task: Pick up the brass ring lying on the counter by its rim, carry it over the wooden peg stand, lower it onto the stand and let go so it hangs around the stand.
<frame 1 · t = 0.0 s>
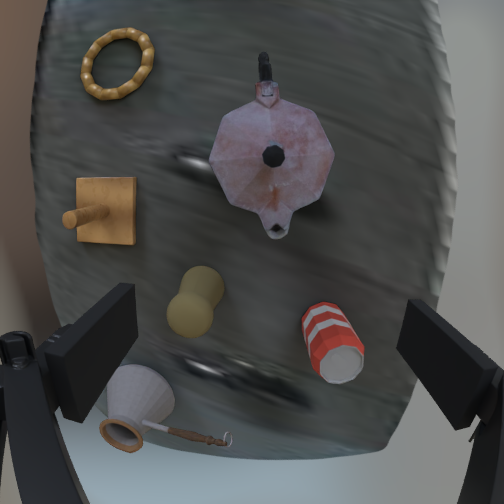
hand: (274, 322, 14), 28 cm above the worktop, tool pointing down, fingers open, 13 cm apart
wooden peg stand: (106, 209, 41), on the worktop
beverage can: (321, 319, 45), on the worktop
ring: (115, 62, 35), point 1 cm above the worktop
cork: (202, 286, 44), on the worktop
coffee pot: (172, 382, 48), on the worktop
moka pot: (263, 154, 40), on the worktop
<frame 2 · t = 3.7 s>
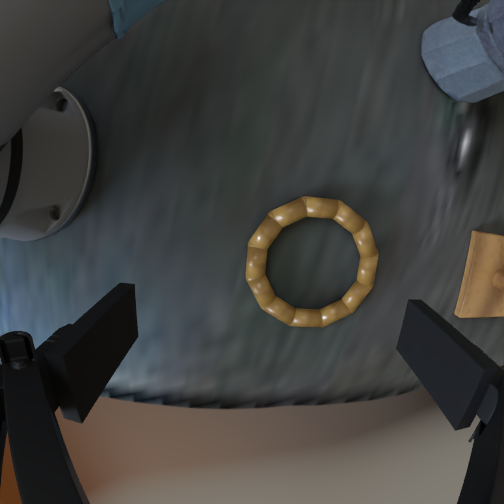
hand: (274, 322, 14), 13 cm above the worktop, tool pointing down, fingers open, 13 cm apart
wooden peg stand: (491, 274, 28), on the worktop
ring: (314, 265, 27), point 1 cm above the worktop
moka pot: (451, 64, 23), on the worktop
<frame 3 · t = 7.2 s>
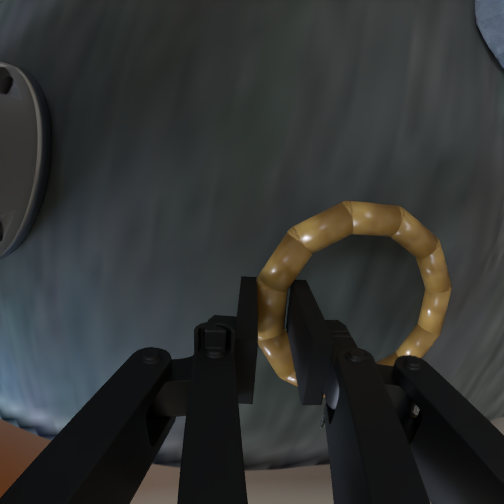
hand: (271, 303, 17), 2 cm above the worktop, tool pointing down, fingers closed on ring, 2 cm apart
ring: (360, 309, 16), point 3 cm above the worktop, touching gripper
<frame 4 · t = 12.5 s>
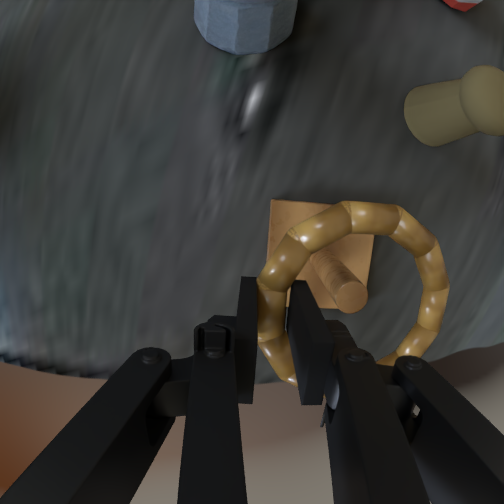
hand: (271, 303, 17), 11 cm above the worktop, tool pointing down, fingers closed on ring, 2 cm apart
wooden peg stand: (318, 254, 28), on the worktop
ring: (360, 309, 16), point 12 cm above the worktop, touching gripper
cork: (429, 115, 25), on the worktop
moka pot: (242, 18, 23), on the worktop
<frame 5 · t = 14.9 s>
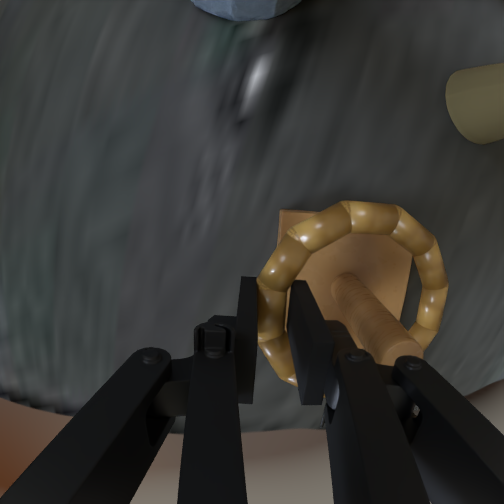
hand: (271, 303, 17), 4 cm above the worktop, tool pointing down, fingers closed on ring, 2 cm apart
wooden peg stand: (341, 281, 21), on the worktop
ring: (359, 308, 16), point 5 cm above the worktop, touching gripper
cork: (473, 106, 18), on the worktop
when the fingers open (7 cm above the worktop, at t = 17.7 s): ring drops 5 cm, resting on wooden peg stand.
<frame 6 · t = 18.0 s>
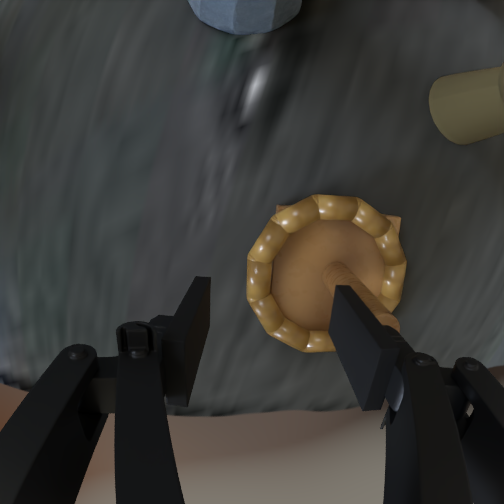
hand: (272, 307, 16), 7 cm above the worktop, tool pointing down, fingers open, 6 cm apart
wooden peg stand: (331, 270, 23), on the worktop
ring: (330, 278, 21), point 2 cm above the worktop, touching wooden peg stand
cork: (456, 109, 20), on the worktop
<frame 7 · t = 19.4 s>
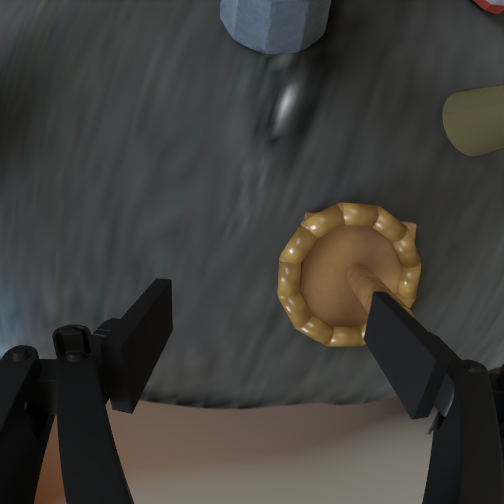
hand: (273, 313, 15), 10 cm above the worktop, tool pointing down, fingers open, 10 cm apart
wooden peg stand: (354, 271, 25), on the worktop
ring: (352, 279, 23), point 2 cm above the worktop, touching wooden peg stand
cork: (467, 123, 22), on the worktop
moka pot: (271, 16, 21), on the worktop
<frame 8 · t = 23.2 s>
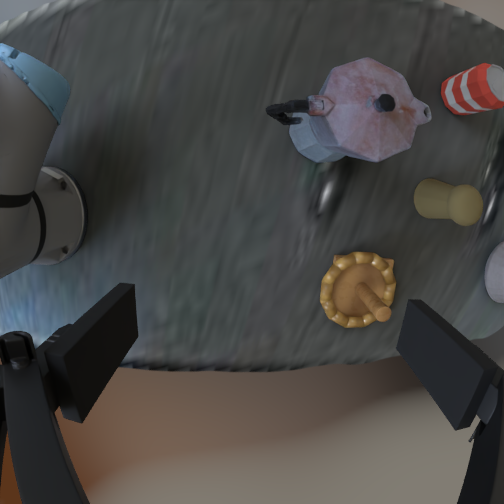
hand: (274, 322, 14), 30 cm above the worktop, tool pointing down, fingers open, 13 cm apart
wooden peg stand: (358, 286, 45), on the worktop
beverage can: (453, 97, 38), on the worktop
ring: (359, 291, 43), point 2 cm above the worktop, touching wooden peg stand
cork: (429, 198, 42), on the worktop
coffee pot: (498, 240, 44), on the worktop
moka pot: (319, 132, 41), on the worktop
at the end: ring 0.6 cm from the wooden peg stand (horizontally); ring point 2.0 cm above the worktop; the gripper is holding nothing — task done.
